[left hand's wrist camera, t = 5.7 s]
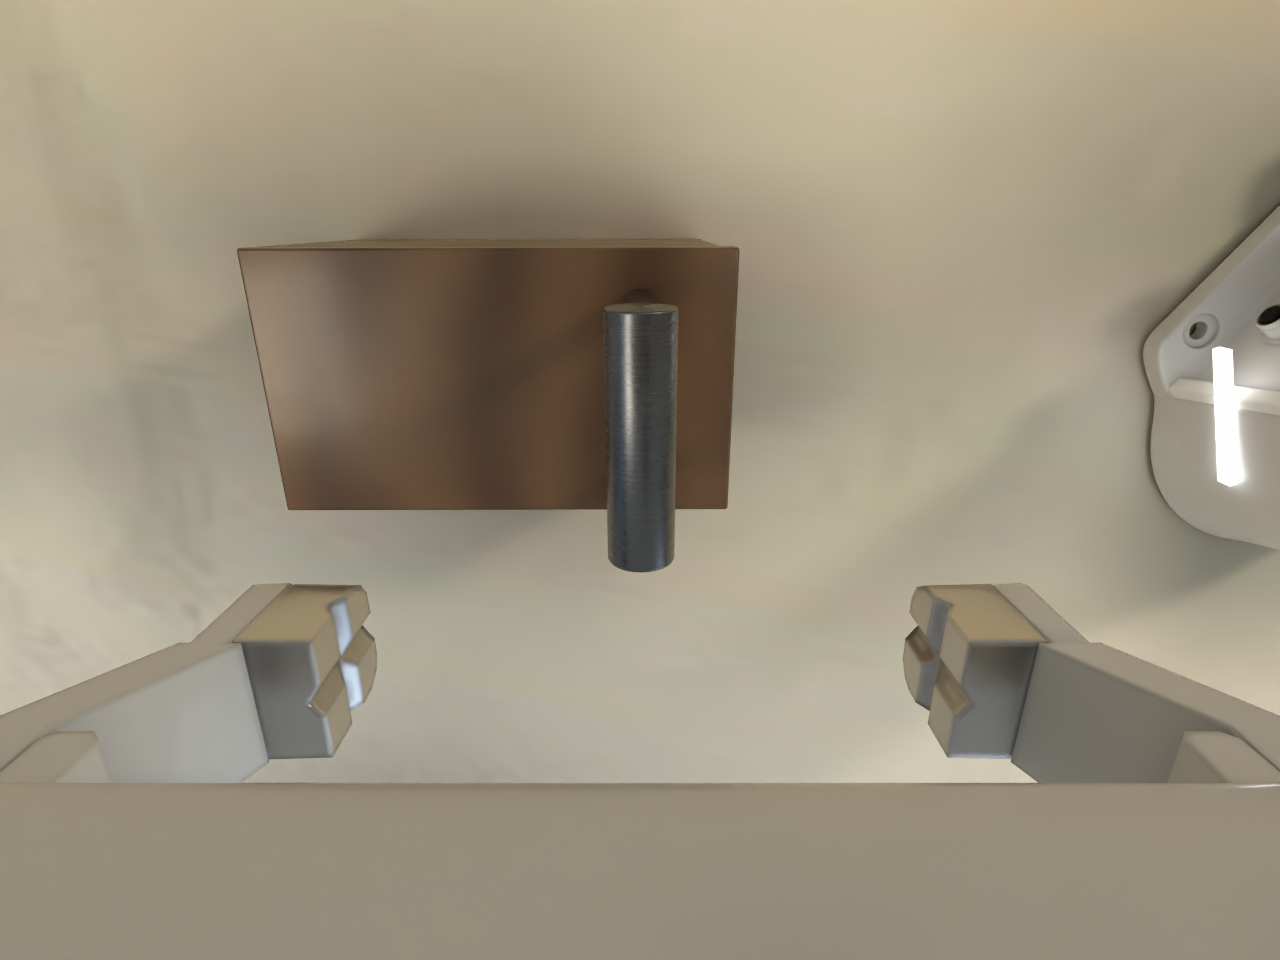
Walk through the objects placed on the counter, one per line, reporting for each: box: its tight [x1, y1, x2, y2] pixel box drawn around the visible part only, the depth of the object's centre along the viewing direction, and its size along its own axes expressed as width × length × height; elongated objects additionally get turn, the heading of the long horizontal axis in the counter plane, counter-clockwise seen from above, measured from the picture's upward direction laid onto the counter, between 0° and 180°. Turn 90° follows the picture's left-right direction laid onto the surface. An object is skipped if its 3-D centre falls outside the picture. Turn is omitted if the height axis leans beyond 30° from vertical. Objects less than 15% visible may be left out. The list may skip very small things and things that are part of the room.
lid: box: [237, 246, 739, 572], centre depth 22 cm, size 17×10×9 cm, turn 90°
